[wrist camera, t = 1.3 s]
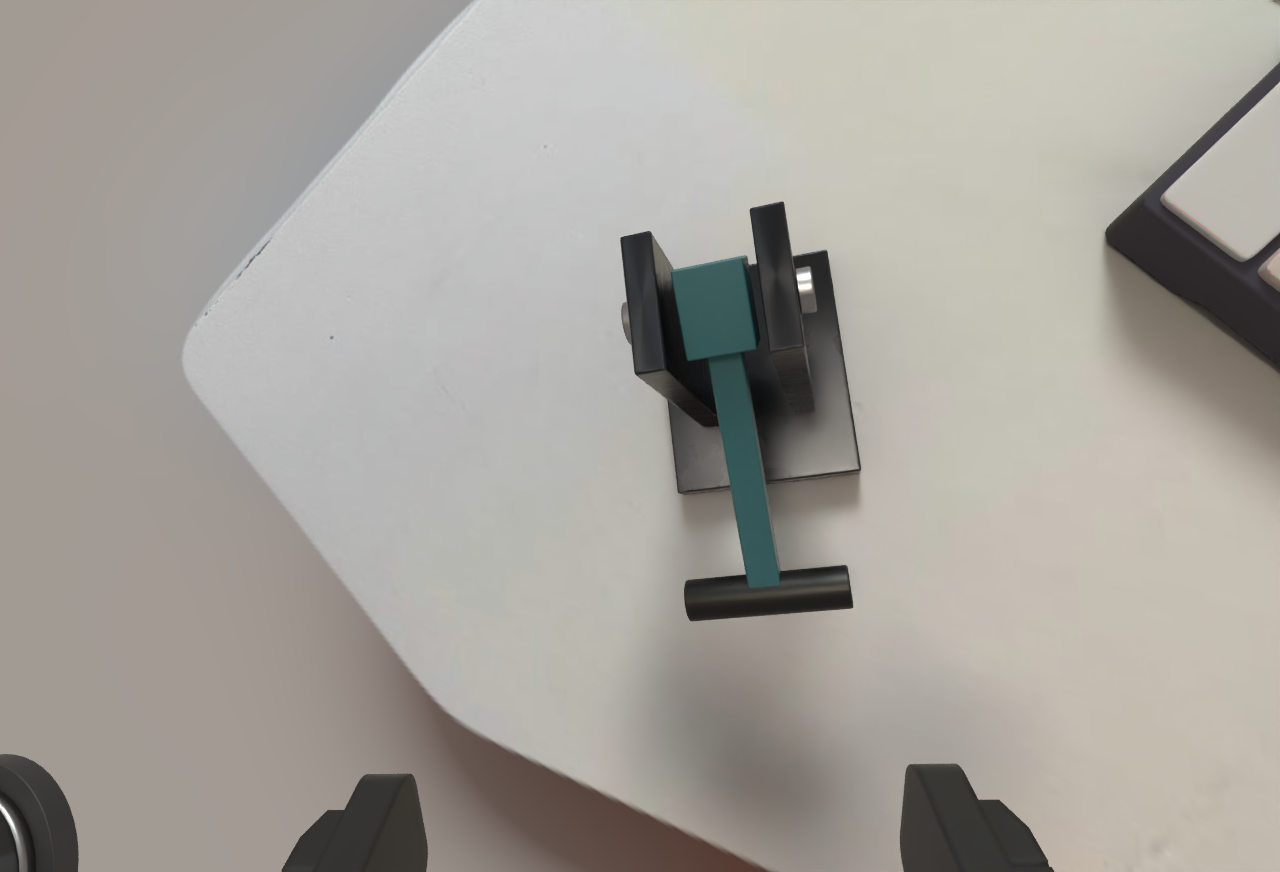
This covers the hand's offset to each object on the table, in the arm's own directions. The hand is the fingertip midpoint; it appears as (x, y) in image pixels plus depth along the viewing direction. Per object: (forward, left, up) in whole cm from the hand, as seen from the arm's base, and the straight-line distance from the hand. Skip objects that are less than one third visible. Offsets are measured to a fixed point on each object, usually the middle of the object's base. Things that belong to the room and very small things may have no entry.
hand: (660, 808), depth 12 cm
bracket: (+10, +5, -21) cm, 24 cm away
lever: (+7, +3, -13) cm, 15 cm away
